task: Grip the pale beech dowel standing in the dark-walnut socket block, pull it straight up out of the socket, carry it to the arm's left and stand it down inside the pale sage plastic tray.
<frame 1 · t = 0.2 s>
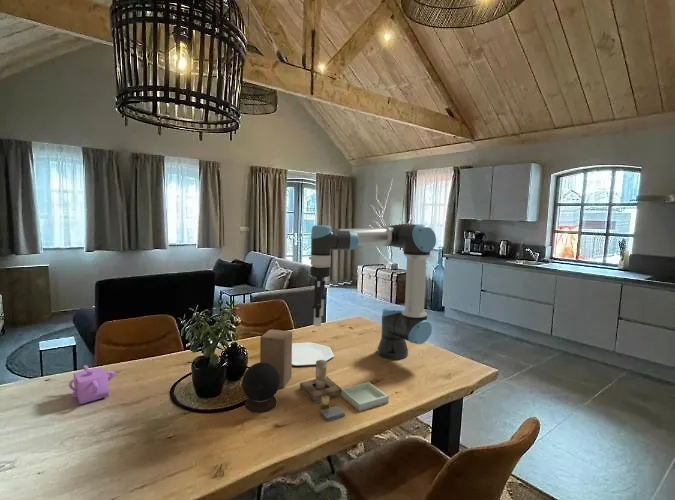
hand: (318, 320, 139), 27 cm above the table, fingers open, 13 cm apart
plate: (304, 356, 175), on the table
teapot: (92, 396, 131), on the table
tray: (364, 398, 134), on the table
dowel: (321, 377, 138), in the socket block
black ball on stand: (261, 404, 129), on the table
wooden block: (276, 382, 146), on the table
steel plate: (332, 415, 123), on the table
socket block: (320, 392, 139), on the table
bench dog: (325, 408, 127), on the table
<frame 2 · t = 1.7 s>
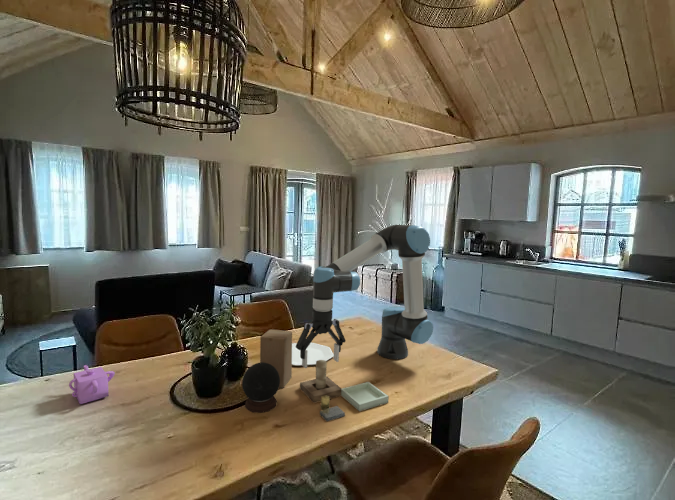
hand: (320, 363, 137), 11 cm above the table, fingers open, 13 cm apart
nothing on the table moved.
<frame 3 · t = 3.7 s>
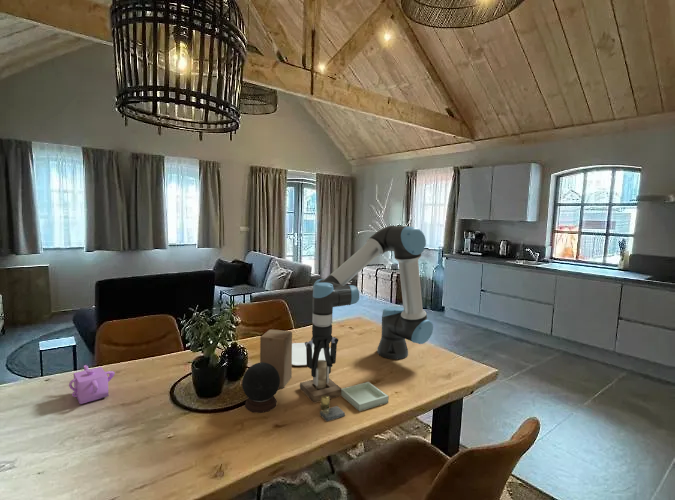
hand: (320, 383, 138), 4 cm above the table, fingers closed on dowel, 4 cm apart
dowel: (321, 377, 138), in the socket block, touching gripper
everything else where it was.
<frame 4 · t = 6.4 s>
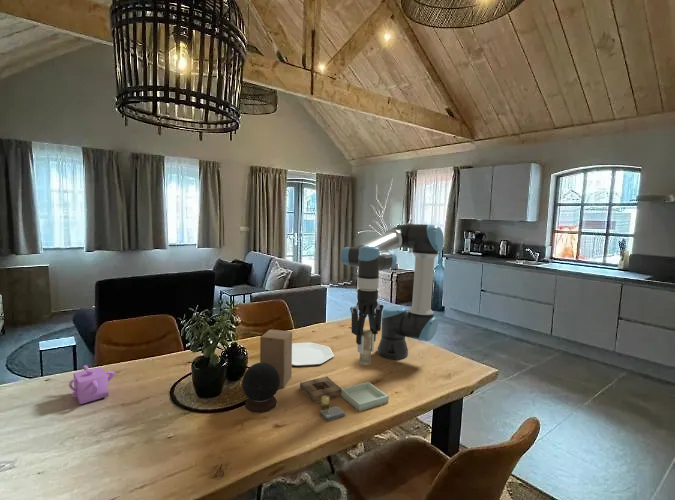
hand: (365, 351, 133), 18 cm above the table, fingers closed on dowel, 4 cm apart
dowel: (365, 347, 132), point 20 cm above the table, touching gripper
everything else where it was.
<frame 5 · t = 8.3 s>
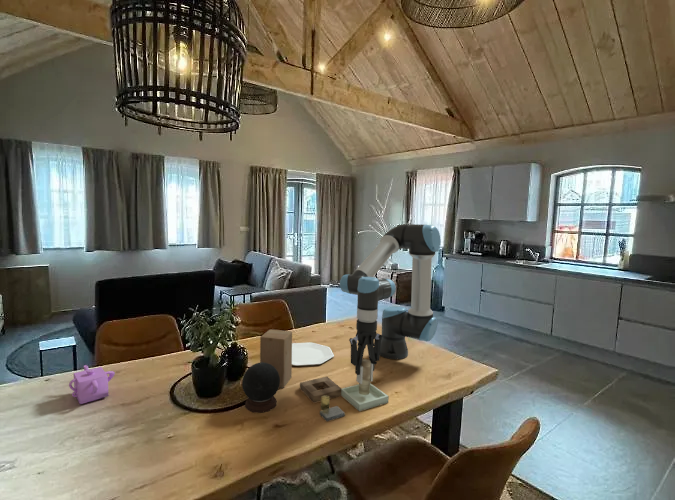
hand: (364, 380, 134), 7 cm above the table, fingers closed on dowel, 4 cm apart
dowel: (364, 376, 134), point 9 cm above the table, touching gripper
everything else where it was.
when the fingers open (5 cm above the table, at t = 9.4 s): dowel stays where it is, resting on tray.
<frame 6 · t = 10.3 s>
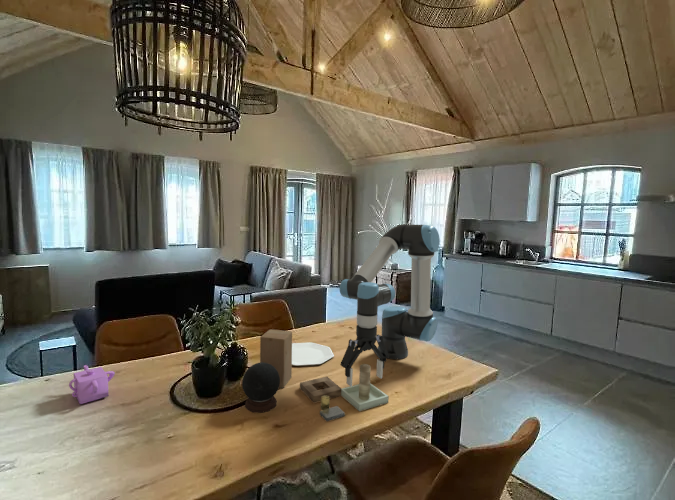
hand: (364, 380, 134), 7 cm above the table, fingers open, 13 cm apart
dowel: (364, 381, 134), in the tray, point 7 cm above the table
everything else where it was.
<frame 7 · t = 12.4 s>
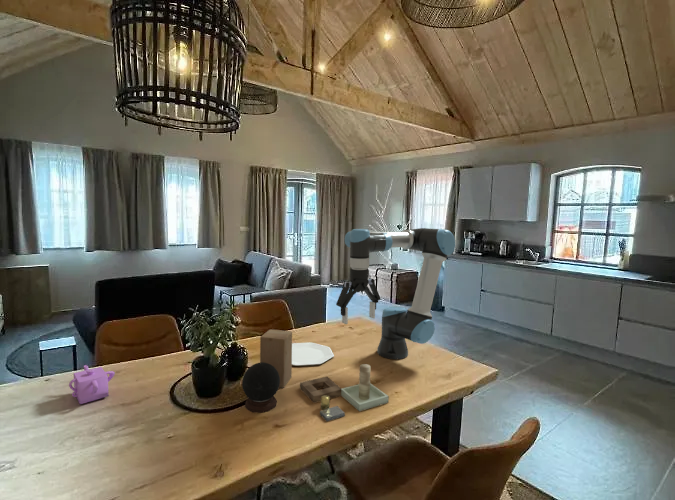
hand: (358, 320, 145), 26 cm above the table, fingers open, 13 cm apart
nothing on the table moved.
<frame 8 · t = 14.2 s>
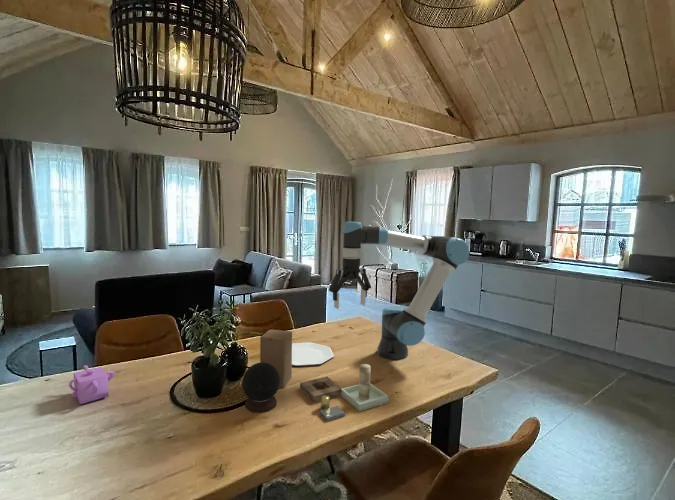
hand: (350, 306, 156), 29 cm above the table, fingers open, 13 cm apart
nothing on the table moved.
at the end: dowel inside the target area on the tray (0.0 cm from its centre), point 6.6 cm above the tray's base; dowel tilted 0°; the gripper is holding nothing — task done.
